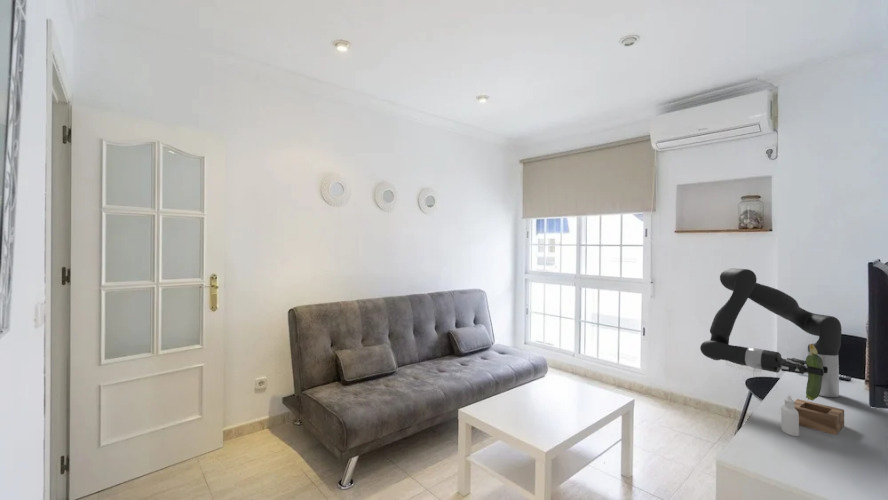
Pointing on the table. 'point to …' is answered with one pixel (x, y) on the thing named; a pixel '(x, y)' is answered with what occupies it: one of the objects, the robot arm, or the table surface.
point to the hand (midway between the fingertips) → (825, 371)
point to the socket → (820, 416)
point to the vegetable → (813, 380)
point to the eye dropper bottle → (790, 418)
